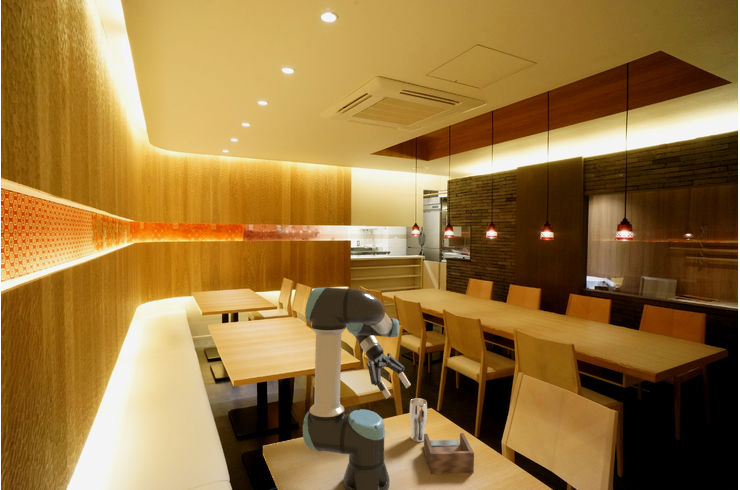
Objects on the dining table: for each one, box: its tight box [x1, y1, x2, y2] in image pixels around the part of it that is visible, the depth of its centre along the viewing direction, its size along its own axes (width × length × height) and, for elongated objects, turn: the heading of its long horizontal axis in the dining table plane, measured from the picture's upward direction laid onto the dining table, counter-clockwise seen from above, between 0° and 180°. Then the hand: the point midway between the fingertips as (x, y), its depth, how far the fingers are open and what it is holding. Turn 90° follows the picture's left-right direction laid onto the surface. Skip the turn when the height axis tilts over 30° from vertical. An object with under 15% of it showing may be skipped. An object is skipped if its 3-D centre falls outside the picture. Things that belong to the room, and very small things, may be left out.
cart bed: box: [423, 432, 475, 475], centre depth 146 cm, size 15×17×7 cm
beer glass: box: [409, 397, 428, 443], centre depth 159 cm, size 7×7×15 cm
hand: (399, 391), depth 165 cm, fingers open, 13 cm apart
